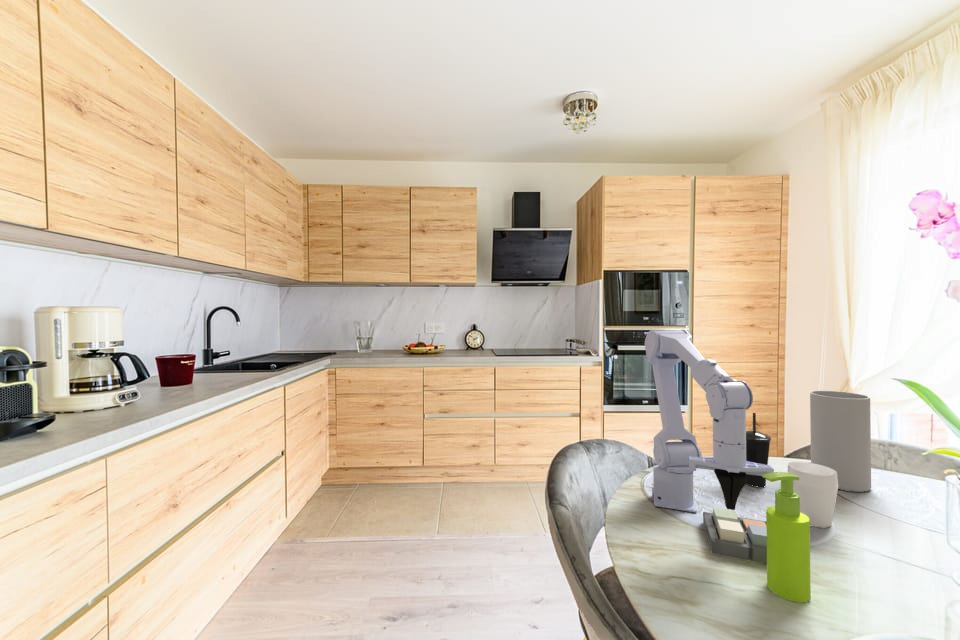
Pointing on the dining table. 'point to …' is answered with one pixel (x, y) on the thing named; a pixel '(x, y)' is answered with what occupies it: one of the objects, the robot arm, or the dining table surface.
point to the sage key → (724, 515)
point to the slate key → (757, 535)
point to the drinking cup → (757, 452)
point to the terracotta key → (752, 522)
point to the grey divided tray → (733, 543)
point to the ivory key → (730, 531)
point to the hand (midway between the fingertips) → (730, 507)
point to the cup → (815, 491)
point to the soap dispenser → (788, 542)
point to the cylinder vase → (842, 437)
